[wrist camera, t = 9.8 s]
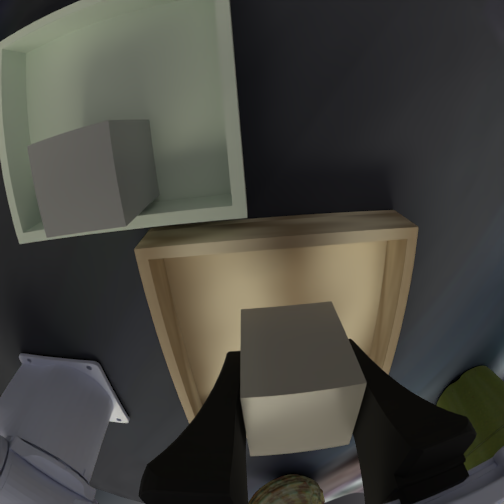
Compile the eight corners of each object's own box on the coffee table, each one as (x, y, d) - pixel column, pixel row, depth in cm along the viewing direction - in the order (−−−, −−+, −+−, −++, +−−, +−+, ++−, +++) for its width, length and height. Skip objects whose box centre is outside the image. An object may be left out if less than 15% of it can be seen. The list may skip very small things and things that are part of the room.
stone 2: (248, 373, 15) (250, 456, 10) (240, 309, 13) (240, 398, 9) (325, 365, 15) (348, 444, 10) (331, 301, 13) (367, 382, 9)
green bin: (45, 226, 16) (19, 244, 14) (24, 49, 11) (-5, 44, 9) (246, 201, 16) (247, 217, 13) (229, -11, 11) (226, -35, 9)
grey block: (94, 205, 15) (46, 237, 11) (82, 135, 14) (27, 145, 9) (159, 195, 15) (126, 226, 11) (149, 119, 14) (108, 119, 9)
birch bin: (199, 409, 23) (195, 438, 20) (150, 228, 17) (134, 249, 14) (363, 394, 23) (373, 420, 20) (393, 209, 17) (418, 227, 14)
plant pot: (417, 435, 28) (446, 508, 17) (416, 384, 23) (462, 481, 13) (495, 390, 26) (533, 451, 16) (510, 327, 21) (569, 399, 11)
